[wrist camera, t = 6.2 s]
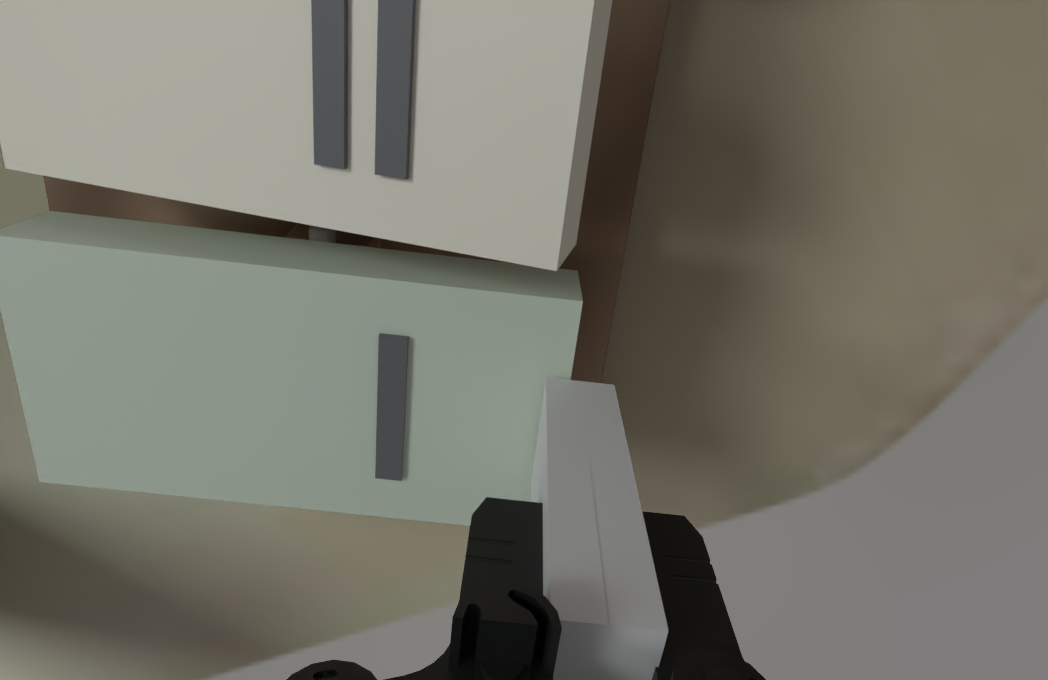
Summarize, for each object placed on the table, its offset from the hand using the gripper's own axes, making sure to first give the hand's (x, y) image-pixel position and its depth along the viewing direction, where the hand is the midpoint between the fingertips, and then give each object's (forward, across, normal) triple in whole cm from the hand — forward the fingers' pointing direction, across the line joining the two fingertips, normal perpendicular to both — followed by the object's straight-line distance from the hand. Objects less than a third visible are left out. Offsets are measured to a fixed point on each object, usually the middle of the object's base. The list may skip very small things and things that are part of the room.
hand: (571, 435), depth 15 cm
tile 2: (+3, -6, +7) cm, 10 cm away
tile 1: (+3, -6, 0) cm, 7 cm away
